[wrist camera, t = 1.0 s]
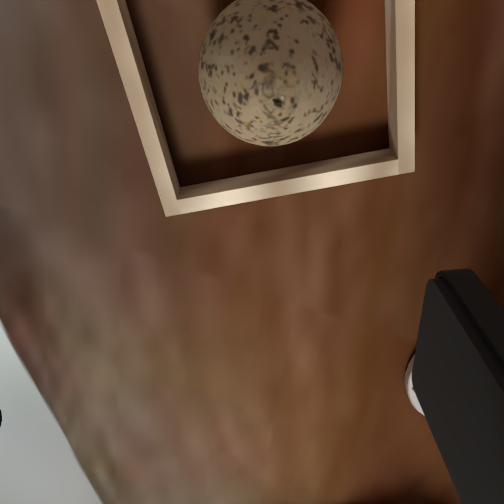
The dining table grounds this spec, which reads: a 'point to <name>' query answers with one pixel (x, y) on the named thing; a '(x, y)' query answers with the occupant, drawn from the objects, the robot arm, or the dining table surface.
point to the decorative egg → (270, 70)
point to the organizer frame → (283, 179)
